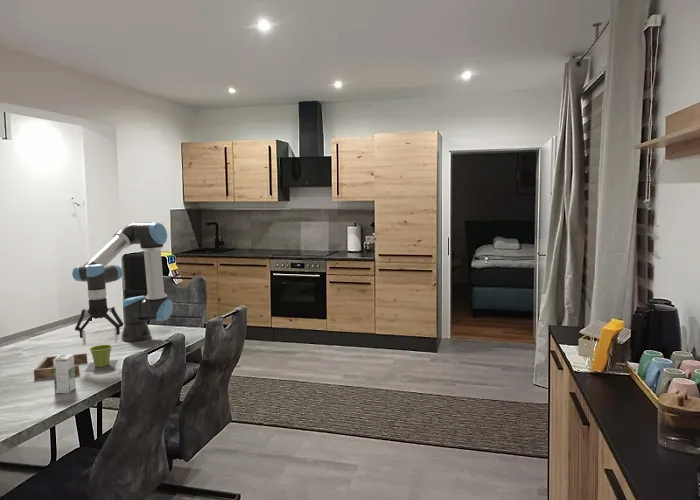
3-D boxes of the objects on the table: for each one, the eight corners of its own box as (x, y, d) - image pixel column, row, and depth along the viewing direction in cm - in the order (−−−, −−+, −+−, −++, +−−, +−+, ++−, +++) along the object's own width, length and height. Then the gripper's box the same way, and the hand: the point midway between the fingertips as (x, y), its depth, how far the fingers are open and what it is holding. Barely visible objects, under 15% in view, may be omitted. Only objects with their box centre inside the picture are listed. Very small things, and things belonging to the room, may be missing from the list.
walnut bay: (87, 361, 250) (86, 353, 250) (79, 374, 231) (78, 365, 231) (46, 365, 245) (45, 357, 245) (34, 379, 226) (33, 370, 225)
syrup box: (61, 389, 213) (58, 354, 212) (76, 388, 214) (73, 353, 212) (54, 394, 208) (52, 358, 206) (70, 393, 208) (67, 358, 207)
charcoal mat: (117, 360, 251) (117, 359, 251) (113, 368, 238) (113, 368, 238) (90, 362, 248) (90, 362, 248) (84, 371, 234) (84, 371, 234)
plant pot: (91, 370, 237) (89, 351, 236) (90, 364, 245) (89, 346, 244) (113, 366, 241) (112, 348, 240) (112, 361, 249) (111, 343, 248)
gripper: (65, 301, 233) (69, 348, 235) (125, 297, 240) (128, 342, 242) (69, 298, 240) (72, 343, 242) (127, 294, 247) (130, 338, 249)
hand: (100, 343), depth 242 cm, fingers open, 13 cm apart
